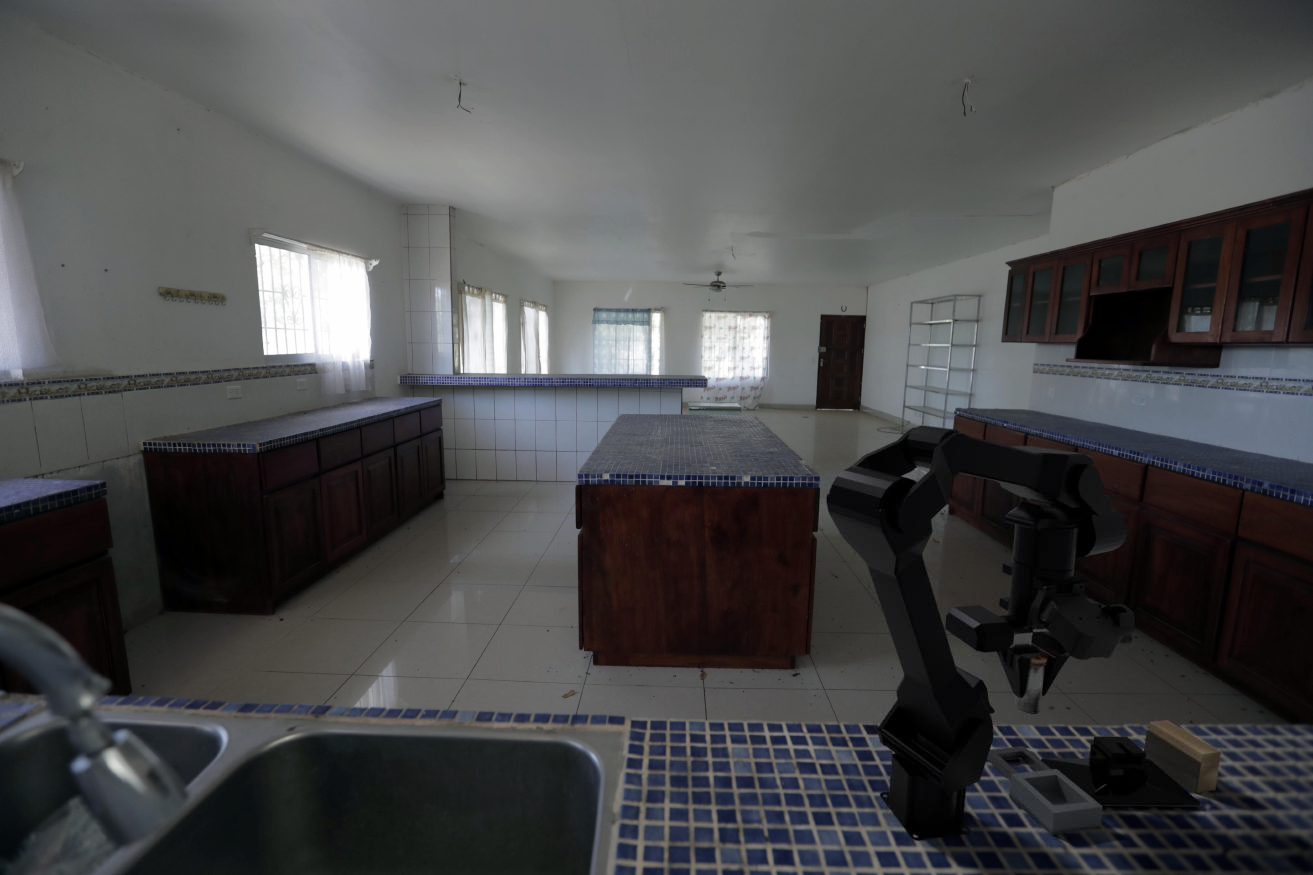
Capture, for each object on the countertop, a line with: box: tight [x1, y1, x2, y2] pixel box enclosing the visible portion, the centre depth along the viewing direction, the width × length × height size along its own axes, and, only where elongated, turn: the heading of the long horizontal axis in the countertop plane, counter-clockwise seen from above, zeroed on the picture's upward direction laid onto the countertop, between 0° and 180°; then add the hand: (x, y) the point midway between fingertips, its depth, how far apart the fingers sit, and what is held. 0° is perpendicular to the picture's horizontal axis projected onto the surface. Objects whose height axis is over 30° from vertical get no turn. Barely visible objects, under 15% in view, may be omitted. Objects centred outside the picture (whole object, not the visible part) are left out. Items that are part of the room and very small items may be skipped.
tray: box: [1008, 769, 1104, 836], centre depth 62 cm, size 6×6×2 cm
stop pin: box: [1014, 648, 1048, 715], centre depth 67 cm, size 3×3×7 cm
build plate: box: [1040, 735, 1201, 807], centre depth 65 cm, size 12×7×5 cm, turn 88°
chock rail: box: [1143, 719, 1222, 794], centre depth 67 cm, size 3×6×5 cm, turn 10°
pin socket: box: [986, 745, 1052, 782], centre depth 68 cm, size 5×5×1 cm
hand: (1028, 695), depth 67 cm, fingers closed on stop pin, 2 cm apart
